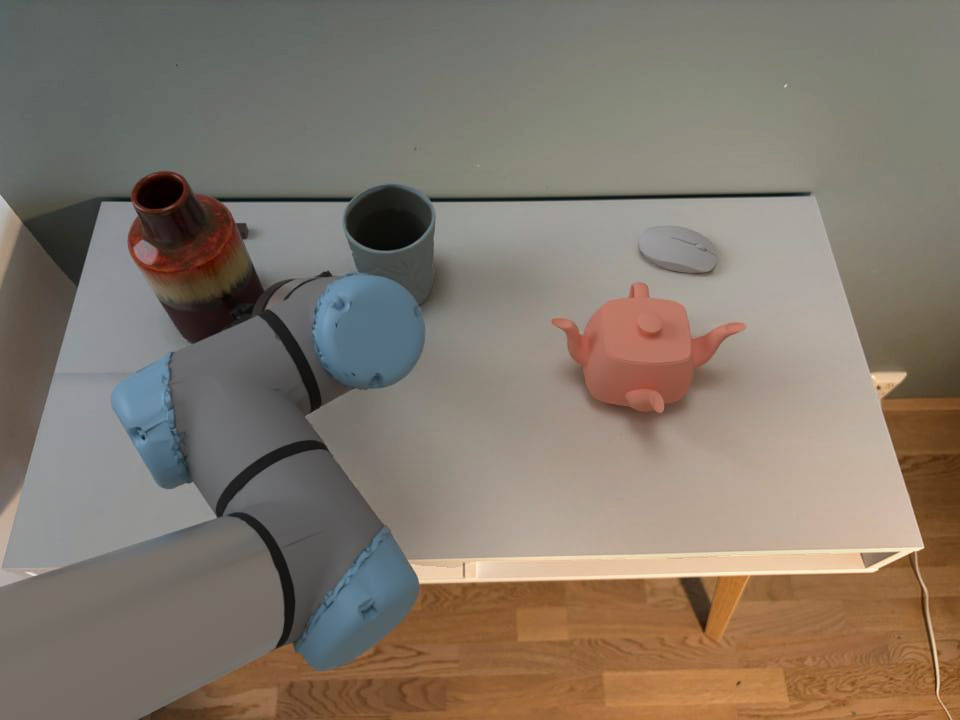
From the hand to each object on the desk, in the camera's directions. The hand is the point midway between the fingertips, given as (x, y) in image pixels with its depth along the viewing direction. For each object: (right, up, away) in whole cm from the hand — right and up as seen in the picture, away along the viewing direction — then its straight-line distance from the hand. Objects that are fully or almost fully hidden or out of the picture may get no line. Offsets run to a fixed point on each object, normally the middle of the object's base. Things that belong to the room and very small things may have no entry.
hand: (241, 317), depth 80 cm
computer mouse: (+51, +8, +13) cm, 53 cm away
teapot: (+43, -8, +3) cm, 44 cm away
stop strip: (-11, +11, +13) cm, 20 cm away
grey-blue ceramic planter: (+16, +5, +10) cm, 19 cm away
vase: (-5, +1, +8) cm, 9 cm away
